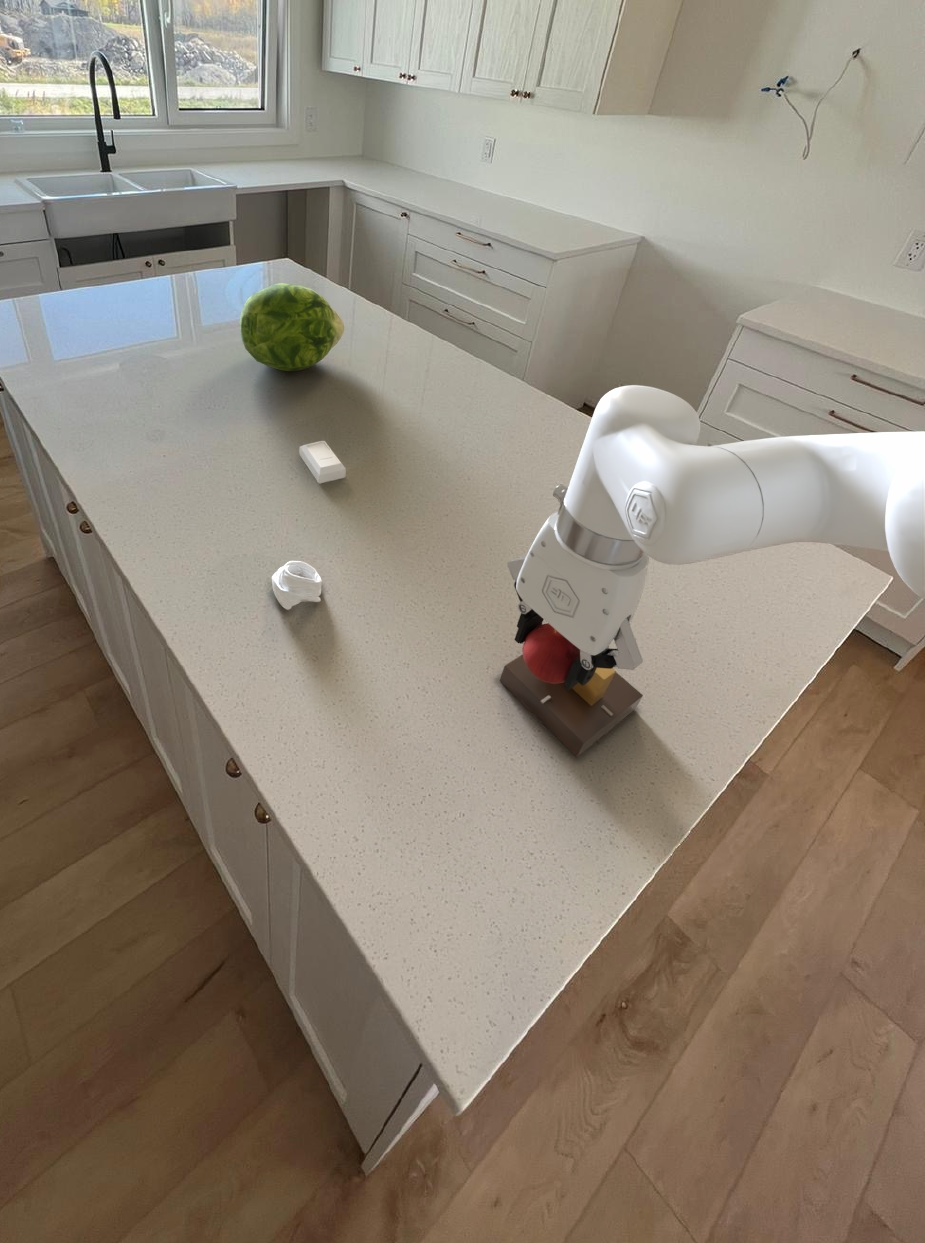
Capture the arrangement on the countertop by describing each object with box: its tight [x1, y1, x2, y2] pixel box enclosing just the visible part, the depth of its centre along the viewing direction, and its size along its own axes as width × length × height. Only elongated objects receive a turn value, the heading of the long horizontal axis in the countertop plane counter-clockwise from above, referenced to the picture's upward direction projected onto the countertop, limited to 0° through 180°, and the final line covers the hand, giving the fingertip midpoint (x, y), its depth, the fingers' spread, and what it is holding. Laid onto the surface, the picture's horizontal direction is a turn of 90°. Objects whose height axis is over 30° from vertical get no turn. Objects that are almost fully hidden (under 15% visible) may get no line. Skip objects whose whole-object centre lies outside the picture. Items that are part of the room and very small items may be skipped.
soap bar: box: [299, 440, 347, 484], centre depth 111 cm, size 5×9×3 cm, turn 26°
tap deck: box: [499, 653, 644, 758], centre depth 76 cm, size 12×11×3 cm
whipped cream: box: [271, 560, 323, 611], centre depth 86 cm, size 8×7×5 cm
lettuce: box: [239, 282, 345, 372], centre depth 137 cm, size 19×23×18 cm
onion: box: [522, 622, 580, 684], centre depth 64 cm, size 6×6×8 cm
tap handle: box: [572, 667, 617, 706], centre depth 74 cm, size 7×2×5 cm, turn 36°
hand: (550, 657), depth 65 cm, fingers closed on onion, 5 cm apart
